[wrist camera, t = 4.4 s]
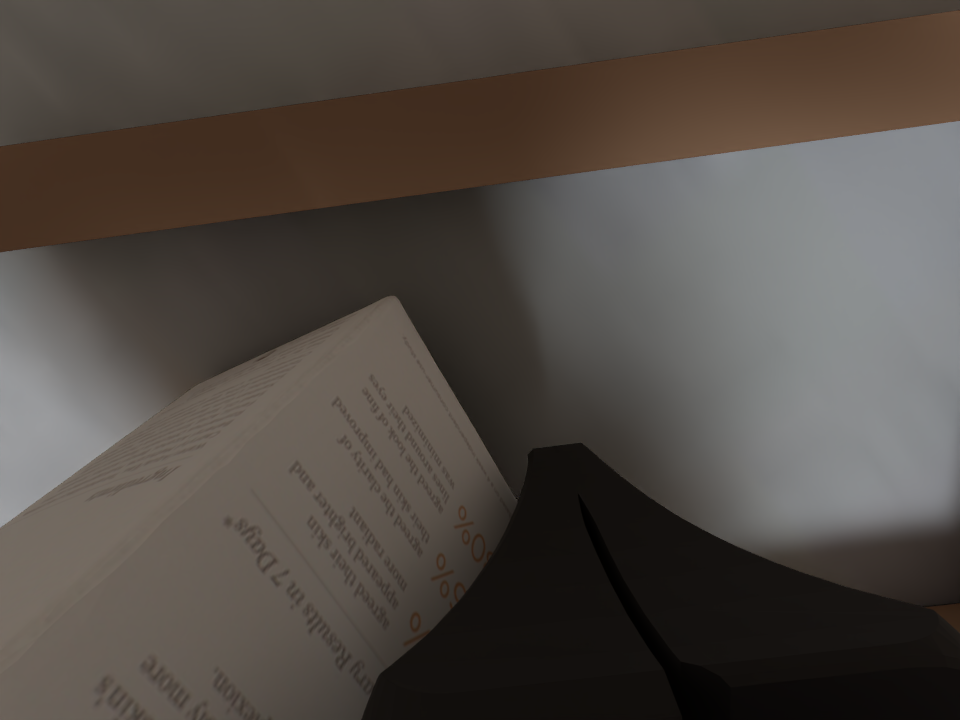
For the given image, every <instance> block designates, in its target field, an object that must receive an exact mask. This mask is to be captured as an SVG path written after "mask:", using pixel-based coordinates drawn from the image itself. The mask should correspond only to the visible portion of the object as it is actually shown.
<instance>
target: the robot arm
mask: <svg viewBox="0 0 960 720" xmlns="http://www.w3.org/2000/svg"><path fill="white" fill-rule="evenodd" d="M361 720H960V633H959V632H958V631H957V630H956V629H955V628H954V627H953V626H951V625H950V624H949V623H948V622H947V621H946V620H945V619H944V618H942V617H941V616H940V615H939V614H938V613H936V612H935V611H934V610H932V609H928V608H925V607H921V606H917V605H913V604H909V603H905V602H901V601H898V600H894V599H890V598H886V597H882V596H878V595H874V594H871V593H867V592H863V591H859V590H855V589H851V588H848V587H845V586H841V585H838V584H835V583H832V582H829V581H826V580H823V579H820V578H817V577H814V576H811V575H808V574H805V573H802V572H799V571H796V570H793V569H791V568H788V567H785V566H783V565H780V564H777V563H775V562H772V561H770V560H767V559H765V558H762V557H760V556H758V555H755V554H753V553H751V552H748V551H746V550H744V549H741V548H739V547H737V546H734V545H732V544H730V543H728V542H726V541H724V540H722V539H720V538H718V537H716V536H714V535H712V534H710V533H708V532H706V531H704V530H702V529H700V528H699V527H697V526H695V525H693V524H691V523H689V522H687V521H686V520H684V519H682V518H680V517H679V516H677V515H675V514H674V513H672V512H670V511H669V510H667V509H666V508H664V507H663V506H661V505H660V504H658V503H657V502H655V501H654V500H652V499H651V498H649V497H648V496H646V495H645V494H644V493H642V492H641V491H639V490H638V489H637V488H635V487H634V486H633V485H631V484H630V483H629V482H628V481H626V480H625V479H624V478H622V477H621V476H620V475H619V474H617V473H616V472H615V471H614V470H613V469H611V468H610V467H609V466H608V465H607V464H606V463H604V462H603V461H602V460H601V459H600V458H599V457H597V456H596V455H595V454H594V453H593V452H592V451H591V450H589V449H588V448H587V447H586V446H585V445H583V444H582V443H576V444H568V445H559V446H551V447H543V448H535V449H532V450H531V451H530V453H529V454H528V469H527V474H526V478H525V482H524V485H523V488H522V491H521V494H520V497H519V500H518V503H517V505H516V508H515V510H514V512H513V515H512V517H511V519H510V521H509V524H508V526H507V528H506V530H505V532H504V534H503V536H502V538H501V540H500V542H499V544H498V545H497V547H496V549H495V550H494V552H493V554H492V555H491V557H490V559H489V560H488V562H487V563H486V565H485V566H484V568H483V569H482V571H481V572H480V573H479V575H478V576H477V578H476V579H475V580H474V582H473V583H472V585H471V586H470V587H469V589H468V590H467V591H466V592H465V594H464V595H463V596H462V597H461V599H460V600H459V601H458V602H457V603H456V604H455V605H454V607H453V608H452V609H451V610H450V611H449V612H448V613H447V614H446V615H445V616H444V617H443V618H442V620H441V621H440V622H439V623H438V624H437V625H436V626H435V627H434V628H433V629H432V630H431V631H430V632H429V633H428V634H427V635H426V636H425V637H424V638H423V639H421V640H420V641H419V642H418V643H417V644H416V645H414V646H413V647H412V648H411V649H410V650H408V651H407V652H406V653H405V654H404V655H402V656H401V657H400V658H399V659H398V660H397V661H395V662H394V663H393V664H392V665H391V666H389V667H388V668H387V669H385V670H384V671H383V672H381V673H380V675H379V676H378V678H377V680H376V683H375V685H374V687H373V690H372V692H371V695H370V697H369V700H368V703H367V705H366V708H365V710H364V713H363V716H362V719H361Z"/></svg>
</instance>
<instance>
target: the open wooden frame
mask: <svg viewBox="0 0 960 720" xmlns="http://www.w3.org/2000/svg"><path fill="white" fill-rule="evenodd" d="M954 121H960V10H957V11H950V12H943V13H936V14H929V15H922V16H915V17H908V18H901V19H894V20H887V21H880V22H873V23H866V24H859V25H852V26H845V27H838V28H831V29H824V30H817V31H810V32H802V33H795V34H788V35H781V36H774V37H767V38H760V39H753V40H746V41H739V42H732V43H725V44H718V45H711V46H704V47H697V48H690V49H683V50H676V51H669V52H662V53H655V54H648V55H641V56H634V57H627V58H620V59H612V60H605V61H598V62H591V63H584V64H577V65H570V66H563V67H556V68H549V69H542V70H535V71H528V72H521V73H514V74H507V75H500V76H493V77H486V78H479V79H472V80H465V81H458V82H451V83H444V84H437V85H430V86H423V87H415V88H408V89H401V90H394V91H387V92H380V93H373V94H366V95H359V96H352V97H345V98H338V99H331V100H324V101H317V102H310V103H303V104H296V105H289V106H282V107H275V108H268V109H261V110H254V111H247V112H240V113H233V114H225V115H218V116H211V117H204V118H197V119H190V120H183V121H176V122H169V123H162V124H155V125H148V126H141V127H134V128H127V129H120V130H113V131H106V132H99V133H92V134H85V135H78V136H71V137H64V138H57V139H50V140H43V141H35V142H28V143H21V144H14V145H7V146H0V252H5V251H12V250H19V249H27V248H34V247H41V246H48V245H56V244H63V243H70V242H78V241H85V240H92V239H100V238H107V237H114V236H121V235H129V234H136V233H143V232H151V231H158V230H165V229H173V228H180V227H187V226H194V225H202V224H209V223H216V222H224V221H231V220H238V219H246V218H253V217H260V216H267V215H275V214H282V213H289V212H297V211H304V210H311V209H319V208H326V207H333V206H340V205H348V204H355V203H362V202H370V201H377V200H384V199H392V198H399V197H406V196H413V195H421V194H428V193H435V192H443V191H450V190H457V189H465V188H472V187H479V186H486V185H494V184H501V183H508V182H516V181H523V180H530V179H538V178H545V177H552V176H560V175H567V174H574V173H581V172H589V171H596V170H603V169H611V168H618V167H625V166H633V165H640V164H647V163H654V162H662V161H669V160H676V159H684V158H691V157H698V156H706V155H713V154H720V153H727V152H735V151H742V150H749V149H757V148H764V147H771V146H779V145H786V144H793V143H800V142H808V141H815V140H822V139H830V138H837V137H844V136H852V135H859V134H866V133H873V132H881V131H888V130H895V129H903V128H910V127H917V126H925V125H932V124H939V123H946V122H954ZM925 608H928V609H932V610H934V611H935V612H936V613H938V614H939V615H940V616H941V617H942V618H944V619H945V620H946V621H947V622H948V623H949V624H950V625H951V626H953V627H954V628H955V629H956V630H957V631H958V632H959V633H960V603H958V604H949V605H940V606H932V607H925Z"/></svg>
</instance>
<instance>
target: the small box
mask: <svg viewBox="0 0 960 720" xmlns="http://www.w3.org/2000/svg"><path fill="white" fill-rule="evenodd" d="M517 503H518V502H517V500H516V498H515V497H514V495H513V493H512V492H511V490H510V488H509V487H508V485H507V483H506V481H505V480H504V478H503V476H502V475H501V473H500V471H499V470H498V468H497V466H496V464H495V463H494V461H493V459H492V458H491V456H490V454H489V452H488V451H487V449H486V447H485V445H484V444H483V442H482V440H481V439H480V437H479V435H478V433H477V432H476V430H475V428H474V427H473V425H472V423H471V422H470V420H469V418H468V416H467V415H466V413H465V411H464V410H463V408H462V406H461V405H460V403H459V401H458V400H457V398H456V396H455V395H454V393H453V391H452V390H451V388H450V386H449V385H448V383H447V381H446V380H445V378H444V376H443V375H442V373H441V371H440V370H439V368H438V366H437V365H436V363H435V361H434V360H433V358H432V356H431V354H430V353H429V351H428V349H427V347H426V346H425V344H424V342H423V341H422V339H421V337H420V336H419V334H418V332H417V330H416V329H415V327H414V325H413V324H412V322H411V320H410V319H409V317H408V315H407V313H406V312H405V310H404V308H403V306H402V304H401V303H400V301H399V299H398V298H397V297H396V296H387V297H385V298H383V299H381V300H379V301H377V302H375V303H373V304H371V305H369V306H367V307H365V308H362V309H360V310H358V311H356V312H353V313H351V314H349V315H347V316H345V317H342V318H340V319H338V320H336V321H334V322H332V323H329V324H327V325H325V326H323V327H321V328H319V329H316V330H314V331H312V332H310V333H308V334H306V335H303V336H301V337H299V338H297V339H295V340H293V341H290V342H288V343H286V344H284V345H282V346H279V347H277V348H275V349H273V350H271V351H268V352H266V353H264V354H262V355H260V356H257V357H255V358H253V359H251V360H249V361H247V362H244V363H242V364H240V365H238V366H236V367H234V368H232V369H229V370H227V371H225V372H223V373H221V374H219V375H217V376H215V377H212V378H210V379H208V380H206V381H204V382H201V383H199V384H198V385H196V386H194V387H193V388H192V389H190V390H189V391H187V392H186V393H185V394H183V395H182V396H181V397H179V398H178V399H176V400H175V401H174V402H172V403H171V404H170V405H168V406H167V407H166V408H164V409H163V410H161V411H160V412H159V413H157V414H156V415H154V416H153V417H152V418H150V419H149V420H148V421H146V422H145V423H144V424H142V425H141V426H140V427H138V428H137V429H135V430H134V431H133V432H131V433H130V434H128V435H127V436H125V437H124V438H123V439H121V440H120V441H119V442H117V443H116V444H114V445H113V446H112V447H110V448H109V449H108V450H106V451H105V452H103V453H102V454H101V455H99V456H98V457H97V458H95V459H94V460H93V461H91V462H90V463H89V464H87V465H86V466H84V467H83V468H82V469H80V470H79V471H78V472H76V473H75V474H74V475H72V476H71V477H69V478H68V479H67V480H65V481H64V482H63V483H61V484H60V485H58V486H57V487H56V488H54V489H53V490H52V491H50V492H49V493H47V494H46V495H45V496H43V497H42V498H41V499H39V500H38V501H36V502H35V503H34V504H32V505H31V506H29V507H28V508H27V509H25V510H24V511H23V512H22V513H20V514H19V515H18V516H16V517H15V518H13V519H12V520H11V521H9V522H8V523H7V524H5V525H4V526H2V527H1V528H0V720H361V719H362V716H363V713H364V710H365V708H366V705H367V703H368V700H369V697H370V695H371V692H372V690H373V687H374V685H375V683H376V680H377V678H378V676H379V675H380V673H381V672H383V671H384V670H385V669H387V668H388V667H389V666H391V665H392V664H393V663H394V662H395V661H397V660H398V659H399V658H400V657H401V656H402V655H404V654H405V653H406V652H407V651H408V650H410V649H411V648H412V647H413V646H414V645H416V644H417V643H418V642H419V641H420V640H421V639H423V638H424V637H425V636H426V635H427V634H428V633H429V632H430V631H431V630H432V629H433V628H434V627H435V626H436V625H437V624H438V623H439V622H440V621H441V620H442V618H443V617H444V616H445V615H446V614H447V613H448V612H449V611H450V610H451V609H452V608H453V607H454V605H455V604H456V603H457V602H458V601H459V600H460V599H461V597H462V596H463V595H464V594H465V592H466V591H467V590H468V589H469V587H470V586H471V585H472V583H473V582H474V580H475V579H476V578H477V576H478V575H479V573H480V572H481V571H482V569H483V568H484V566H485V565H486V563H487V562H488V560H489V559H490V557H491V555H492V554H493V552H494V550H495V549H496V547H497V545H498V544H499V542H500V540H501V538H502V536H503V534H504V532H505V530H506V528H507V526H508V524H509V521H510V519H511V517H512V515H513V512H514V510H515V508H516V505H517Z"/></svg>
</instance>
